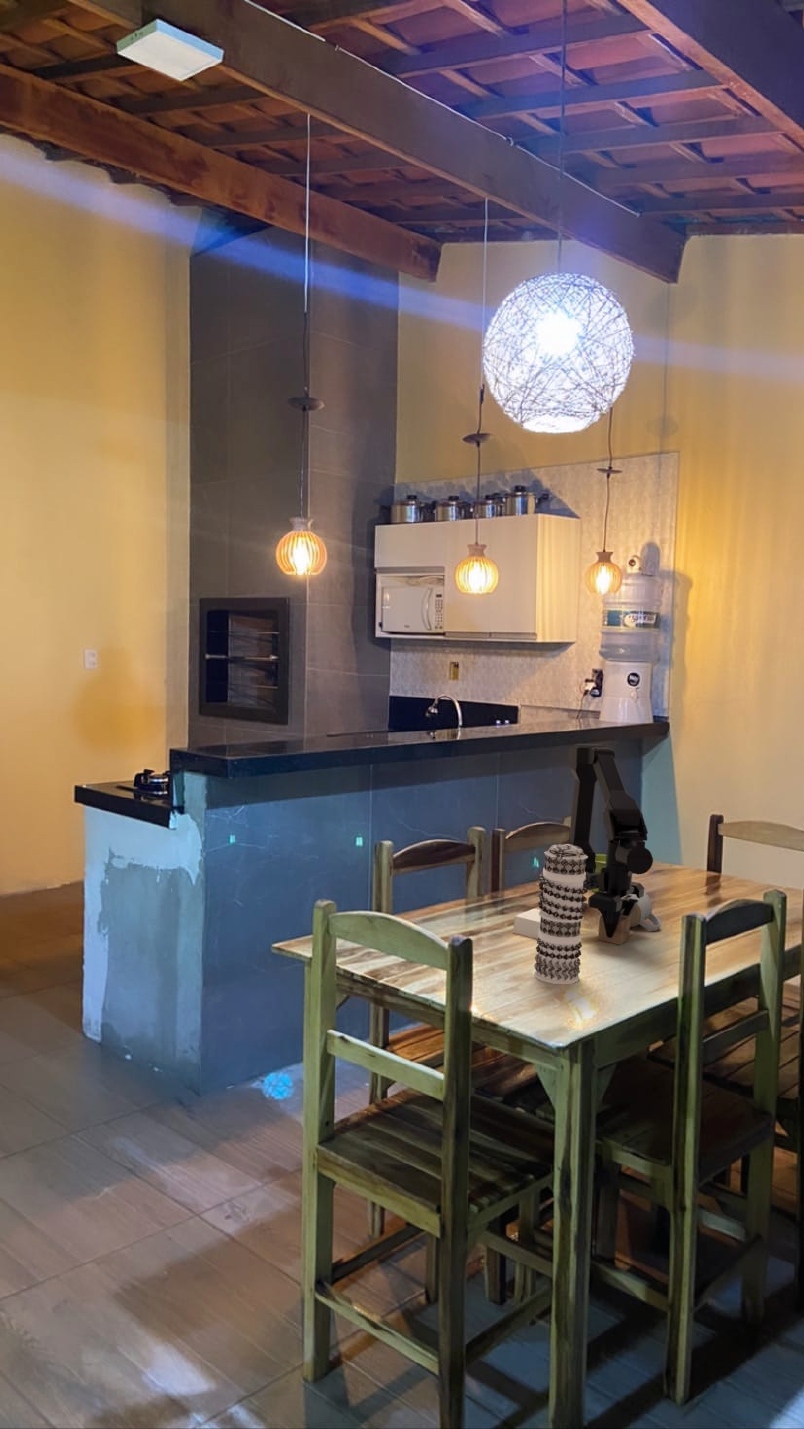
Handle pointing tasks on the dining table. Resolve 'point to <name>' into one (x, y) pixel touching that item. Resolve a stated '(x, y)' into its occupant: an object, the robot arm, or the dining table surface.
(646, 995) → the dining table surface
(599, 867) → the plant pot
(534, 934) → the cream block
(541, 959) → the decorative candle
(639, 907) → the ceramic mug
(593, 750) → the robot arm
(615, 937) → the walnut cube
